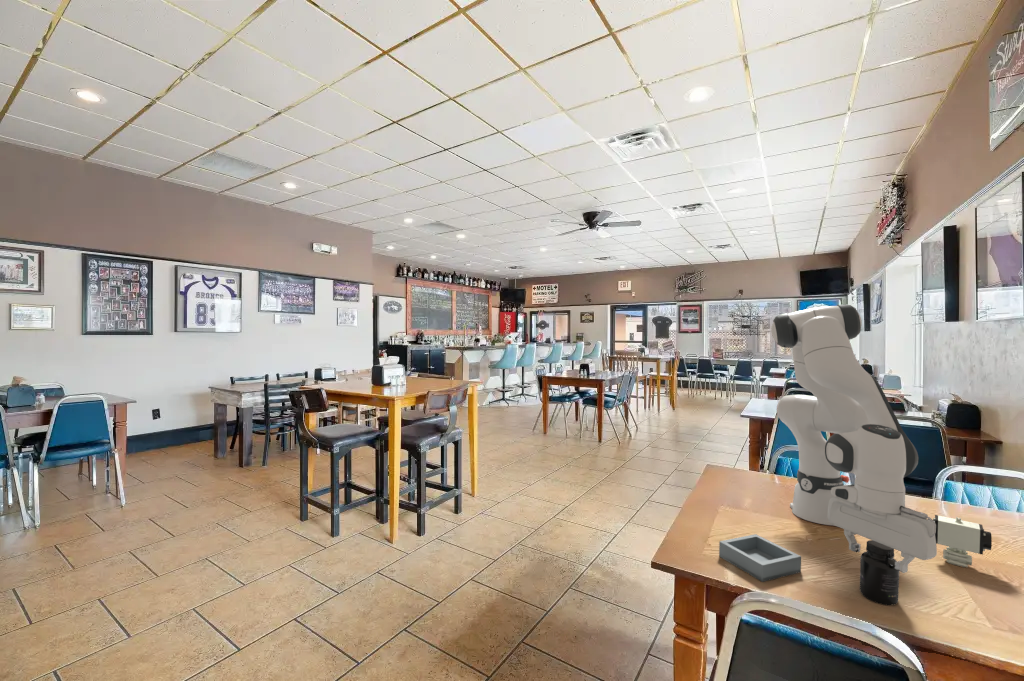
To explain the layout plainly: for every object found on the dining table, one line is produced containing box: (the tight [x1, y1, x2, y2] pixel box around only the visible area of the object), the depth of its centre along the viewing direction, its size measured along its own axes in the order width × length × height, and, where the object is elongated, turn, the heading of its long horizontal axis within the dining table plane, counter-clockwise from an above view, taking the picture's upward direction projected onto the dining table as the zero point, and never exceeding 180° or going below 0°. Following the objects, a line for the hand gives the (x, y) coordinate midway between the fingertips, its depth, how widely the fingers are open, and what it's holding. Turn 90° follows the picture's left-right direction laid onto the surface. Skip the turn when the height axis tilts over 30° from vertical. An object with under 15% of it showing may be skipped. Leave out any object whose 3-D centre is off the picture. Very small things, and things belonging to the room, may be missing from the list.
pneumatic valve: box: [927, 514, 993, 568], centre depth 117 cm, size 6×12×12 cm, turn 47°
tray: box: [718, 533, 802, 583], centre depth 115 cm, size 13×13×4 cm
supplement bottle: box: [859, 539, 900, 606], centre depth 101 cm, size 7×7×12 cm
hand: (876, 560), depth 101 cm, fingers open, 8 cm apart
